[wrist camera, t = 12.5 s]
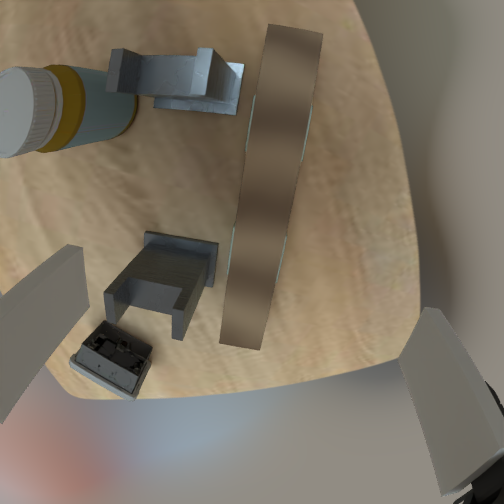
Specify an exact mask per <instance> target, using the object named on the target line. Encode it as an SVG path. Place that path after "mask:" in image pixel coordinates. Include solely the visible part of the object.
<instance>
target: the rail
mask: <svg viewBox="0 0 504 504" xmlns="http://www.w3.org/2000/svg"><path fill="white" fill-rule="evenodd" d="M322 39H323V34H322V33H318V32H313V31H308V30H303V29H297V28H292V27H286V26H280V25H273V24H268V28H267V34H266V39H265V45H264V51H263V56H262V62H261V68H260V73H259V79H258V85H257V91H256V97H255V103H254V109H253V115H252V121H251V127H250V133H249V139H248V145H247V152H246V158H245V164H244V171H243V177H242V184H241V190H240V197H239V203H238V210H237V217H236V224H235V231H234V237H233V244H232V251H231V258H230V265H229V273H228V280H227V287H226V294H225V302H224V309H223V317H222V324H221V332H220V340H219V343H220V344H226V345H231V346H237V347H242V348H248V349H254V350H260V348H261V343H262V339H263V335H264V331H265V326H266V322H267V318H268V314H269V309H270V305H271V300H272V296H273V292H274V287H275V283H276V278H277V274H278V269H279V265H280V260H281V256H282V251H283V246H284V242H285V237H286V232H287V227H288V223H289V218H290V213H291V208H292V203H293V198H294V193H295V189H296V184H297V179H298V173H299V168H300V163H301V158H302V153H303V148H304V142H305V137H306V132H307V126H308V121H309V115H310V110H311V104H312V99H313V93H314V87H315V82H316V76H317V70H318V64H319V58H320V52H321V46H322Z"/></svg>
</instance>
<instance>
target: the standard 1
mask: <svg viewBox="0 0 504 504" xmlns="http://www.w3.org/2000/svg"><path fill="white" fill-rule="evenodd" d="M217 250H218V243H213V242H207V241H202V240H196V239H190V238H184V237H179V236H173V235H167V234H161V233H156V232H150V231H146V232H145V233H144V248H143V249H142V250H141V251H140V253H139V254H138V255H137V256H136V257H135V258H134V259H133V260H132V261H131V262H130V263H129V264H128V265H127V267H126V268H125V269H124V270H123V271H122V272H121V273H120V274H119V275H118V276H117V278H116V279H115V280H114V281H113V282H112V283H111V284H110V285H109V287H108V288H107V289H106V290H105V291H104V292H103V293H104V302H105V310H106V318H107V322H109V323H113V324H117V322H118V321H119V320H120V318H121V317H122V315H123V314H124V312H125V311H126V310H127V308H128V307H129V305H131V306H135V307H139V308H143V309H147V310H152V311H156V312H160V313H165V314H169V315H172V339H176V340H181V341H183V338H184V336H185V333H186V331H187V328H188V326H189V323H190V321H191V319H192V316H193V314H194V311H195V309H196V306H197V304H198V301H199V299H200V296H201V294H202V292H203V289H204V287H205V286H207V287H213V284H214V276H215V267H216V258H217Z"/></svg>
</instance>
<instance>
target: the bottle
mask: <svg viewBox="0 0 504 504" xmlns="http://www.w3.org/2000/svg"><path fill="white" fill-rule="evenodd" d="M107 76H108V72H104V71H98V70H93V69H87V68H81V67H74V66H67V65H49V66H47V67H44V68H32V67H12V68H8V69H6V70H4V71H2V72H1V73H0V158H10V157H14V156H17V155H21V154H25V153H28V152H31V151H38V152H41V153H47V152H53V151H58V150H62V149H66V148H71V147H75V146H79V145H84V144H88V143H93V142H98V141H103V140H108V139H112V138H114V137H116V136H119V135H120V134H122V133H123V132H124V131H125V130H126V129H127V128H128V127H129V125H130V124H131V122H132V120H133V119H134V116H135V113H136V109H137V95H131V94H122V93H111V92H105V90H106V82H107Z"/></svg>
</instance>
